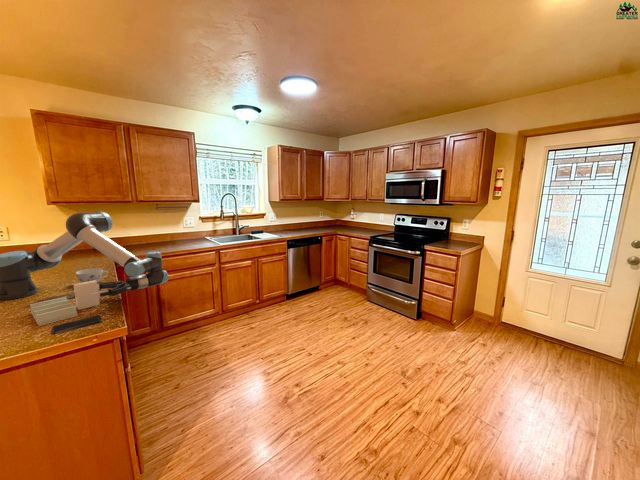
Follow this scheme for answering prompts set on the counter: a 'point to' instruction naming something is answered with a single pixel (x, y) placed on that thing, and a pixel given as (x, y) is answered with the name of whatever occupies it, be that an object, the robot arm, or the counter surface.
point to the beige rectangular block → (85, 294)
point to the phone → (76, 324)
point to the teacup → (90, 274)
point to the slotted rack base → (53, 310)
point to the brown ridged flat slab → (54, 298)
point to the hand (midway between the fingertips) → (86, 293)
